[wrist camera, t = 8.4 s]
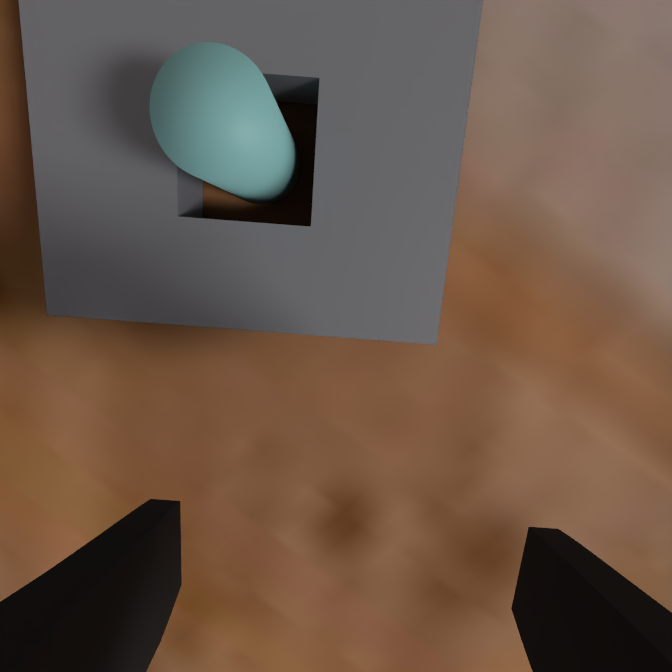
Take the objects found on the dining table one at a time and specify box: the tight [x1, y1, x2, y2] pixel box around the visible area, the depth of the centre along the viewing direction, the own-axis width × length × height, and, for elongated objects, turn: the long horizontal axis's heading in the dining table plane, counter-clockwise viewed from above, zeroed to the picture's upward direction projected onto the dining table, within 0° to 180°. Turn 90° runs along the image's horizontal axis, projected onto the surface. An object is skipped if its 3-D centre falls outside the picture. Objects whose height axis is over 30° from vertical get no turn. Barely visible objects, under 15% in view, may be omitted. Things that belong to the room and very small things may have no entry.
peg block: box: [18, 0, 483, 344], centre depth 14 cm, size 14×12×2 cm
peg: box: [150, 42, 300, 204], centre depth 12 cm, size 3×3×6 cm
